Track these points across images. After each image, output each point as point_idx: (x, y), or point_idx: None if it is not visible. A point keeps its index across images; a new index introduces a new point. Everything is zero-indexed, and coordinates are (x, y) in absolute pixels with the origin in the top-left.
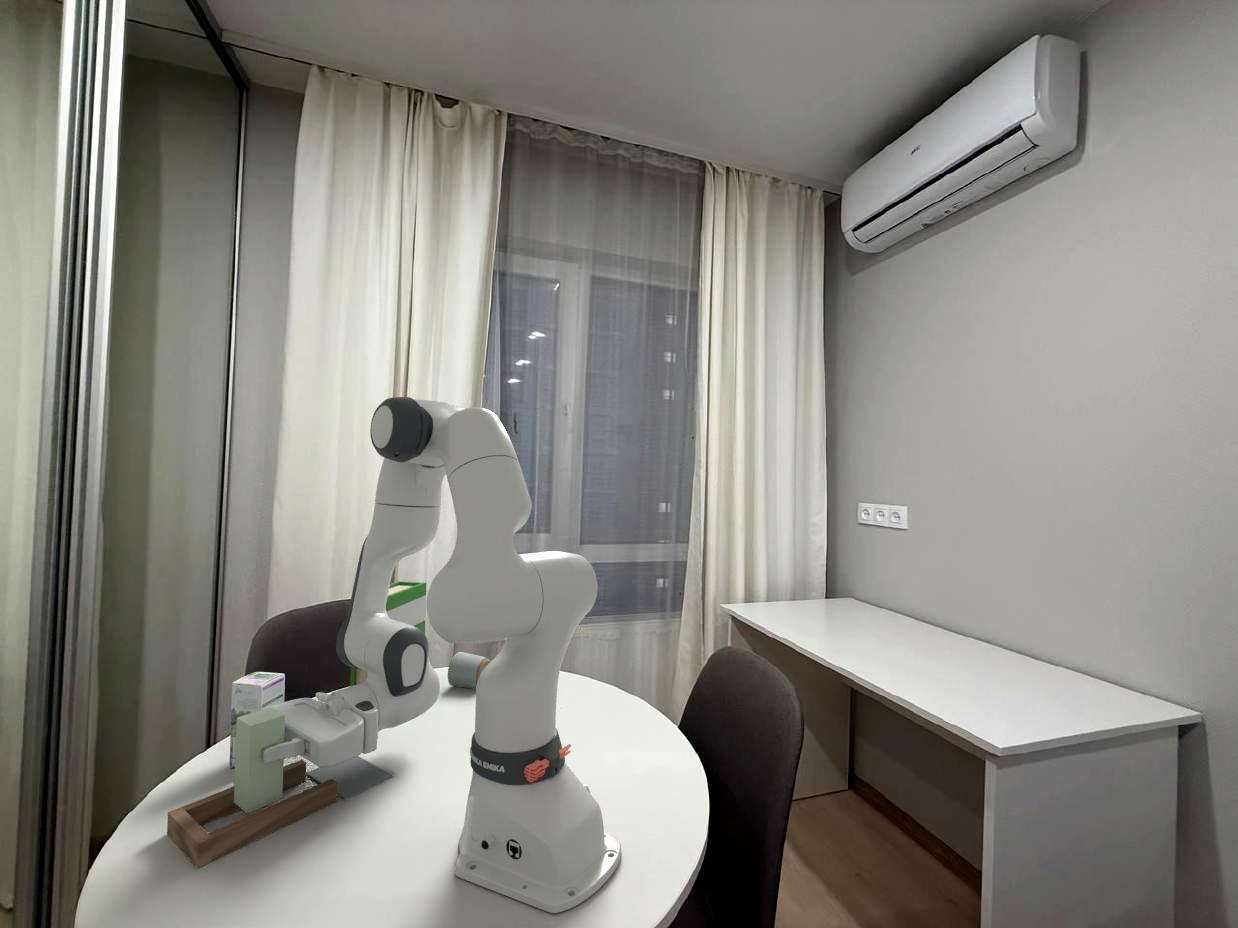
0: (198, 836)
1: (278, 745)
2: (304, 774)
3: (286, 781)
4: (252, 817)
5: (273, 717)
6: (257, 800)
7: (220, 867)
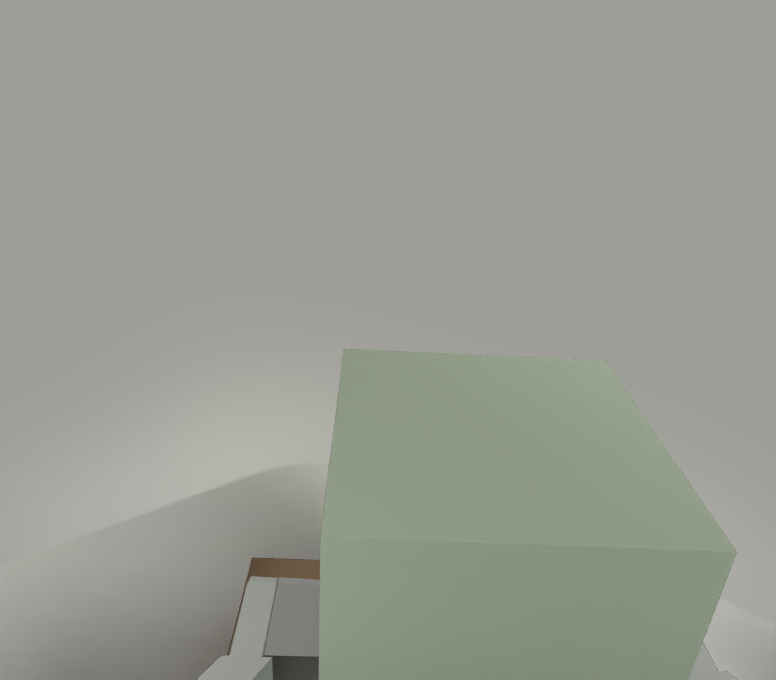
0: (299, 571)
1: (238, 653)
2: None
3: None
4: None
5: (360, 459)
6: None
7: (183, 662)
